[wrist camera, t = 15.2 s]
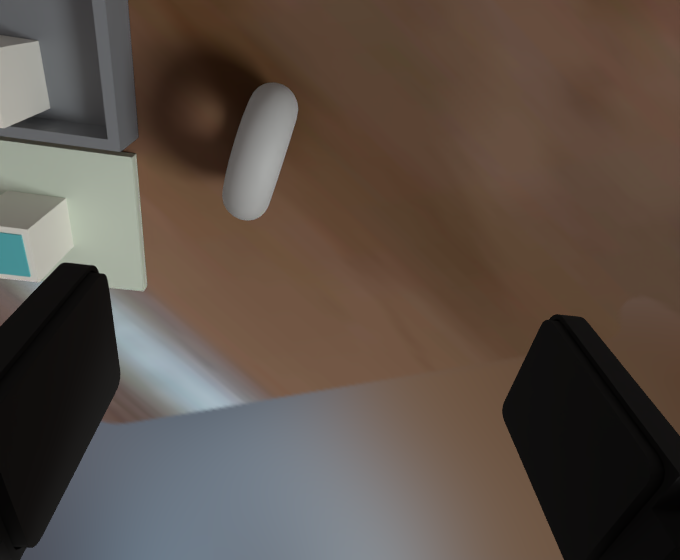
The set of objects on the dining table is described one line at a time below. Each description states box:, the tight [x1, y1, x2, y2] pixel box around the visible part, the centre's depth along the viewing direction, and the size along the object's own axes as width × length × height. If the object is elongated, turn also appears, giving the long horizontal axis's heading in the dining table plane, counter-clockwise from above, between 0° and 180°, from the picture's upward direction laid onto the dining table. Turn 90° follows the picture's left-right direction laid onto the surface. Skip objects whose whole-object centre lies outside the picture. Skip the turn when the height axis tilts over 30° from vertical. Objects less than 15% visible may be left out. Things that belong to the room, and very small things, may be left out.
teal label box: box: [0, 191, 74, 282], centre depth 37 cm, size 5×5×6 cm
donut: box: [222, 83, 298, 220], centre depth 33 cm, size 10×4×10 cm, turn 159°
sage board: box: [0, 136, 147, 291], centre depth 40 cm, size 13×16×1 cm
